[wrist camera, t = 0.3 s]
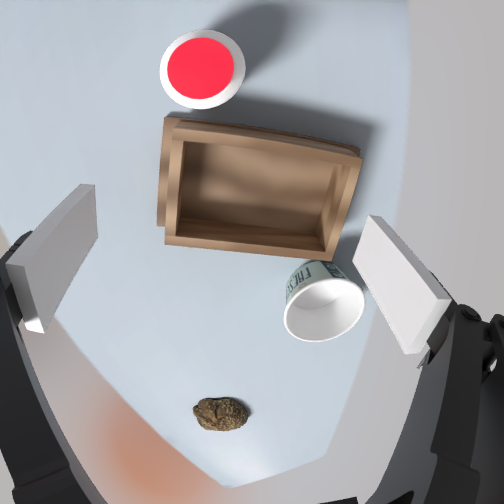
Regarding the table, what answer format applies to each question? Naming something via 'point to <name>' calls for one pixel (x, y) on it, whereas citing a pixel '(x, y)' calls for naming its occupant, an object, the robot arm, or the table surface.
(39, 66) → the table surface
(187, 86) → the pill bottle
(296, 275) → the food container
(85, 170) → the table surface
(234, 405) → the bread roll
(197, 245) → the tray
